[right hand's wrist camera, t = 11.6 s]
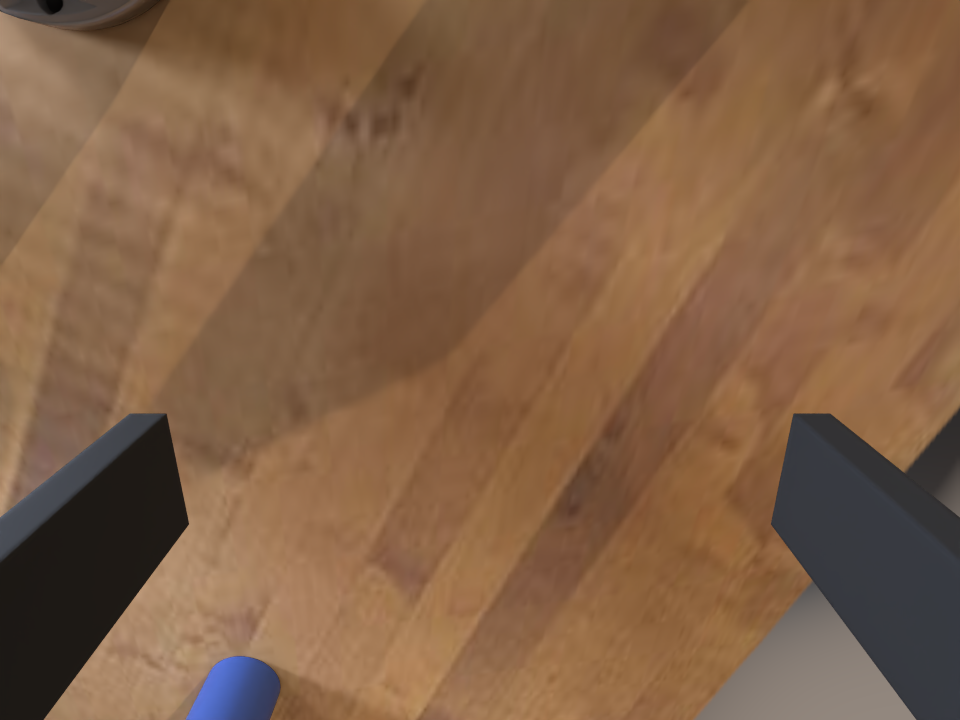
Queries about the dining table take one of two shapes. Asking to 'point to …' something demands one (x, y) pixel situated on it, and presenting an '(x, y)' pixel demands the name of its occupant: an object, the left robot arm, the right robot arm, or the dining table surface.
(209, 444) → the dining table surface
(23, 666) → the right robot arm
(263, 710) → the canister
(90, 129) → the dining table surface
